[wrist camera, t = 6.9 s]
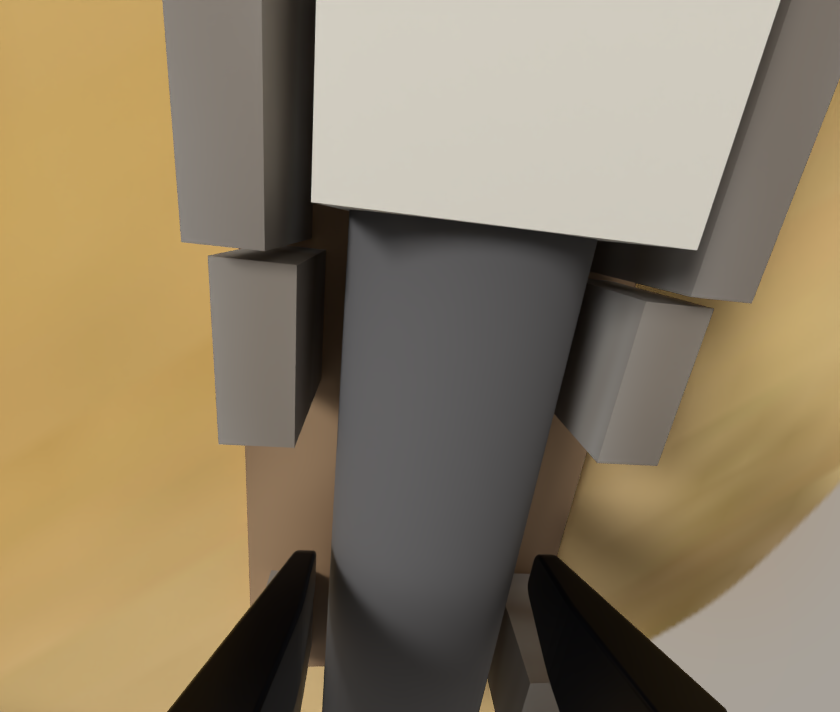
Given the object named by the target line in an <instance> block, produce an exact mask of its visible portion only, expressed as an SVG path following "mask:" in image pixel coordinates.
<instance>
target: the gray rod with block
mask: <svg viewBox="0 0 840 712" xmlns="http://www.w3.org/2000/svg"><path fill="white" fill-rule="evenodd" d="M779 3H780V0H316V24H315V65H314V105H313V146H312V187H311V202H313V203H317V204H321V205H326V206H330V207H334V208H338V209H343V210H347V211H349V228H348V246H347V265H346V283H345V302H344V320H343V338H342V357H341V375H340V394H339V412H338V431H337V449H336V467H335V486H334V504H333V523H332V541H331V560H330V578H329V597H328V615H327V633H326V652H325V670H324V689H323V707H322V712H479V710H480V706H481V702H482V698H483V694H484V690H485V686H486V682H487V678H488V674H489V670H490V666H491V662H492V658H493V654H494V650H495V646H496V642H497V638H498V634H499V630H500V626H501V622H502V618H503V614H504V610H505V606H506V602H507V598H508V594H509V590H510V586H511V582H512V578H513V575H514V571H515V567H516V563H517V559H518V555H519V551H520V547H521V543H522V539H523V535H524V531H525V527H526V523H527V519H528V515H529V511H530V507H531V503H532V499H533V495H534V491H535V487H536V483H537V479H538V475H539V471H540V467H541V463H542V459H543V455H544V451H545V447H546V443H547V439H548V435H549V431H550V427H551V423H552V419H553V416H554V412H555V408H556V404H557V400H558V396H559V392H560V388H561V384H562V380H563V376H564V372H565V368H566V364H567V360H568V356H569V352H570V348H571V344H572V340H573V336H574V332H575V328H576V324H577V320H578V316H579V312H580V308H581V304H582V300H583V296H584V292H585V288H586V284H587V280H588V276H589V272H590V268H591V264H592V260H593V257H594V253H595V249H596V245H597V241H608V242H618V243H629V244H639V245H649V246H659V247H669V248H679V249H689V250H697V249H698V246H699V243H700V240H701V237H702V234H703V231H704V228H705V225H706V222H707V219H708V216H709V213H710V210H711V207H712V204H713V201H714V198H715V195H716V192H717V189H718V186H719V183H720V180H721V177H722V174H723V171H724V168H725V165H726V162H727V159H728V156H729V153H730V150H731V147H732V144H733V141H734V138H735V135H736V132H737V129H738V126H739V123H740V120H741V117H742V114H743V111H744V108H745V105H746V102H747V99H748V96H749V93H750V90H751V87H752V84H753V81H754V78H755V75H756V72H757V69H758V66H759V63H760V60H761V57H762V54H763V51H764V48H765V45H766V42H767V39H768V36H769V33H770V30H771V27H772V24H773V21H774V18H775V15H776V12H777V9H778V6H779Z"/></svg>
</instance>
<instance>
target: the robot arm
mask: <svg viewBox="0 0 840 712" xmlns="http://www.w3.org/2000/svg"><path fill="white" fill-rule="evenodd" d="M315 581H316V552H315V551H314V550H297V551H295V552H294V553H293V554H292V555H291V556H290V558H289V559H288V560H287V561H286V563H285V564H284V565H283V567H282V568H281V569H280V570H279V572H278V573H277V574H276V575H275V577H274V578H273V579H272V580H271V582H270V583H269V584H268V585H267V587H266V588H265V589H264V590H263V592H262V593H261V594H260V596H259V597H258V598H257V599H256V601H255V602H254V603H253V604H252V606H251V607H250V608H249V609H248V611H247V612H246V613H245V614H244V616H243V617H242V618H241V619H240V621H239V622H238V623H237V624H236V626H235V627H234V628H233V630H232V631H231V632H230V633H229V635H228V636H227V637H226V638H225V640H224V641H223V642H222V643H221V645H220V646H219V647H218V648H217V650H216V651H215V652H214V653H213V655H212V656H211V657H210V658H209V660H208V661H207V662H206V664H205V665H204V666H203V667H202V669H201V670H200V671H199V672H198V674H197V675H196V676H195V677H194V679H193V680H192V681H191V682H190V684H189V685H188V686H187V687H186V689H185V690H184V691H183V693H182V694H181V695H180V696H179V698H178V699H177V700H176V701H175V703H174V704H173V705H172V706H171V708H170V709H169V710H168V711H167V712H293V711H294V707H295V703H296V699H297V695H298V691H299V686H300V682H301V677H302V671H303V665H304V659H305V652H306V645H307V639H308V632H309V625H310V618H311V612H312V605H313V598H314V591H315ZM528 596H529V600H530V604H531V609H532V613H533V617H534V621H535V625H536V630H537V634H538V638H539V642H540V647H541V651H542V655H543V659H544V663H545V667H546V671H547V675H548V678H549V681H550V685H551V688H552V691H553V694H554V697H555V700H556V703H557V706H558V709H559V712H727V711H726V709H725V708H724V707H723V706H722V705H721V704H720V703H719V702H718V701H716V700H715V699H714V698H713V697H712V696H711V695H710V694H709V693H707V692H706V691H705V690H704V689H703V688H702V687H701V686H700V685H699V684H698V683H696V682H695V681H694V680H693V679H692V678H691V677H690V676H689V675H688V674H687V673H685V672H684V671H683V670H682V669H681V668H680V667H679V666H678V665H677V664H676V663H674V662H673V661H672V660H671V659H670V658H669V657H668V656H666V655H665V654H664V653H663V652H662V651H661V650H660V649H659V648H658V647H657V646H656V645H654V644H653V643H652V642H651V641H650V640H649V639H648V638H647V637H646V636H645V635H643V634H642V633H641V632H640V631H639V630H638V629H637V628H636V627H635V626H634V625H632V624H631V623H630V622H629V621H628V620H627V619H626V618H625V617H624V616H622V615H621V614H620V613H619V612H618V611H617V610H616V609H615V608H614V607H612V606H611V605H610V604H609V603H608V602H607V601H606V600H605V599H604V598H603V597H601V596H600V595H599V594H598V593H597V592H596V591H595V590H594V589H593V588H591V587H590V586H589V585H588V584H587V583H586V582H585V581H584V580H583V579H582V578H580V577H579V576H578V575H577V574H576V573H575V572H574V571H573V570H572V569H570V568H569V567H568V566H567V565H566V564H565V563H564V562H563V561H562V560H561V559H559V558H558V557H557V556H555V555H550V554H538V555H536V557H535V558H534V561H533V565H532V569H531V572H530V576H529V580H528Z"/></svg>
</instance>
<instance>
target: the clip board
mask: <svg viewBox="0 0 840 712" xmlns="http://www.w3.org/2000/svg"><path fill="white" fill-rule="evenodd" d="M163 13H164V26H165V39H166V52H167V64H168V77H169V90H170V103H171V116H172V128H173V141H174V154H175V167H176V180H177V193H178V205H179V218H180V231H181V242H186V243H195V244H204V245H213V246H223V247H232V248H239V250H234V251H229V252H224V253H219V254H214V255H210V256H208V268H209V285H210V303H211V320H212V337H213V354H214V372H215V389H216V406H217V424H218V441H219V444H226V445H245V457H246V488H247V518H248V548H249V579H250V607H251V606H252V604H253V603H254V602H255V601H256V599H257V598H258V597H259V596H260V594H261V593H262V592H263V590H264V589H265V588H266V587H267V585H268V584H269V583H270V582H271V580H272V579H273V578H274V577H275V575H276V574H277V573H278V572H279V570H280V569H281V568H282V567H283V565H284V564H285V563H286V561H287V560H288V559H289V558H290V556H291V555H292V554H293V553H294V552H295V551H297V550H314V551H315V552H316V581H315V591H314V598H313V605H312V612H311V618H310V625H309V632H308V639H307V645H306V652H305V659H304V665H303V671H302V677H301V682H300V686H299V691H298V695H297V699H296V703H295V707H294V711H293V712H300V711H301V705H302V699H303V693H304V687H305V681H306V675H307V669H308V667H310V666H325V652H326V633H327V615H328V597H329V578H330V560H331V541H332V523H333V504H334V486H335V467H336V449H337V431H338V412H339V394H340V375H341V357H342V338H343V320H344V302H345V283H346V265H347V246H348V228H349V211H347V210H343V209H338V208H334V207H330V206H326V205H321V204H317V203H313V202H311V187H312V146H313V105H314V65H315V24H316V0H163ZM839 79H840V0H780V3H779V6H778V9H777V12H776V15H775V18H774V21H773V24H772V27H771V30H770V33H769V36H768V39H767V42H766V45H765V48H764V51H763V54H762V57H761V60H760V63H759V66H758V69H757V72H756V75H755V78H754V81H753V84H752V87H751V90H750V93H749V96H748V99H747V102H746V105H745V108H744V111H743V114H742V117H741V120H740V123H739V126H738V129H737V132H736V135H735V138H734V141H733V144H732V147H731V150H730V153H729V156H728V159H727V162H726V165H725V168H724V171H723V174H722V177H721V180H720V183H719V186H718V189H717V192H716V195H715V198H714V201H713V204H712V207H711V210H710V213H709V216H708V219H707V222H706V225H705V228H704V231H703V234H702V237H701V240H700V243H699V246H698V249H697V250H689V249H679V248H669V247H659V246H649V245H639V244H629V243H618V242H608V241H597V245H596V249H595V253H594V257H593V260H592V264H591V268H590V272H589V276H588V280H587V284H586V288H585V292H584V296H583V300H582V304H581V308H580V312H579V316H578V320H577V324H576V328H575V332H574V336H573V340H572V344H571V348H570V352H569V356H568V360H567V364H566V368H565V372H564V376H563V380H562V384H561V388H560V392H559V396H558V400H557V404H556V408H555V412H554V416H553V419H552V423H551V427H550V431H549V435H548V439H547V443H546V447H545V451H544V455H543V459H542V463H541V467H540V471H539V475H538V479H537V483H536V487H535V491H534V495H533V499H532V503H531V507H530V511H529V515H528V519H527V523H526V527H525V531H524V535H523V539H522V543H521V547H520V551H519V555H518V559H517V563H516V567H515V571H514V575H513V578H512V582H511V586H510V590H509V594H508V598H507V602H506V606H505V610H504V614H503V618H502V622H501V626H500V630H499V634H498V638H497V642H496V646H495V650H494V654H493V658H492V662H491V666H490V670H489V674H488V682H489V687H490V691H491V696H492V700H493V704H494V709H495V712H559V709H558V706H557V703H556V700H555V697H554V694H553V691H552V688H551V685H550V681H549V678H548V675H547V671H546V667H545V663H544V659H543V655H542V651H541V647H540V642H539V638H538V634H537V630H536V625H535V621H534V617H533V613H532V609H531V604H530V600H529V596H528V580H529V576H530V572H531V569H532V565H533V561H534V558H535V557H536V555H538V554H550V555H555V556H557V554H558V550H559V547H560V543H561V540H562V537H563V533H564V530H565V526H566V523H567V519H568V516H569V512H570V509H571V506H572V502H573V499H574V495H575V492H576V488H577V485H578V481H579V478H580V475H581V471H582V468H583V464H584V461H585V457H586V454H587V452H588V453H589V454H590V455H591V456H592V457H593V459H594V460H595V461H596V462H597V463H610V464H630V465H650V466H657V465H658V462H659V460H660V457H661V454H662V451H663V449H664V446H665V443H666V440H667V438H668V435H669V432H670V429H671V427H672V424H673V421H674V418H675V415H676V413H677V410H678V407H679V404H680V402H681V399H682V396H683V393H684V391H685V388H686V385H687V382H688V379H689V377H690V374H691V371H692V368H693V366H694V363H695V360H696V357H697V355H698V352H699V349H700V346H701V344H702V341H703V338H704V335H705V332H706V330H707V327H708V324H709V321H710V319H711V316H712V313H713V310H714V309H713V308H710V307H706V306H702V305H698V304H695V303H691V302H687V301H684V300H680V299H676V298H672V297H669V296H665V295H661V294H658V293H654V292H650V291H647V290H643V289H639V288H635V285H636V283H638V284H642V285H646V286H650V287H654V288H658V289H661V290H665V291H669V292H673V293H677V294H681V295H685V296H689V297H697V298H706V299H715V300H724V301H734V302H743V303H752V301H753V298H754V296H755V293H756V291H757V288H758V286H759V283H760V281H761V278H762V275H763V273H764V270H765V268H766V265H767V263H768V260H769V258H770V255H771V252H772V250H773V247H774V245H775V242H776V240H777V237H778V235H779V232H780V229H781V227H782V224H783V222H784V219H785V217H786V214H787V212H788V209H789V206H790V204H791V201H792V199H793V196H794V194H795V191H796V189H797V186H798V183H799V181H800V178H801V176H802V173H803V171H804V168H805V166H806V163H807V160H808V158H809V155H810V153H811V150H812V148H813V145H814V143H815V140H816V137H817V135H818V132H819V130H820V127H821V125H822V122H823V119H824V117H825V114H826V112H827V109H828V107H829V104H830V102H831V99H832V96H833V94H834V91H835V89H836V86H837V84H838V81H839Z"/></svg>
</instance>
